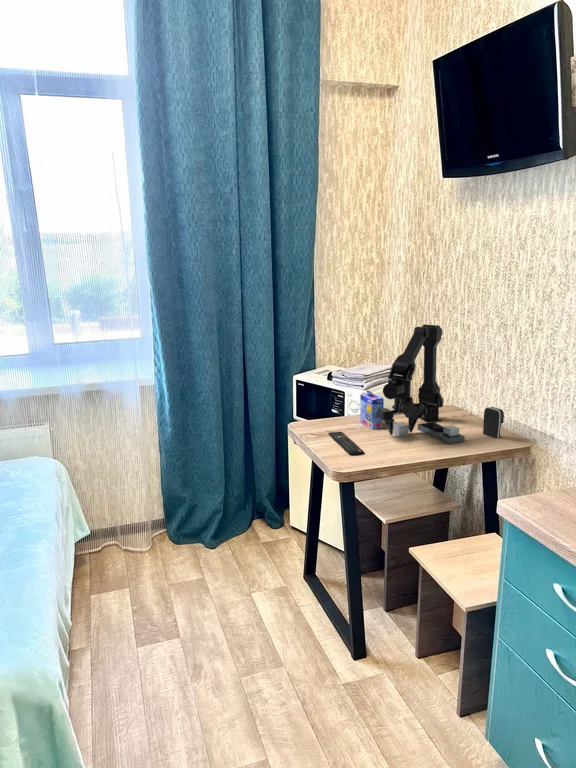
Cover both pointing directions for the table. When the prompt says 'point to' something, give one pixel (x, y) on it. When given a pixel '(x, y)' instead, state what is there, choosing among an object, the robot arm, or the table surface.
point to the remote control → (346, 443)
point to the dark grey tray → (439, 433)
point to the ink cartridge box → (371, 410)
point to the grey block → (401, 429)
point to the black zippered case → (493, 421)
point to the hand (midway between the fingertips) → (401, 433)
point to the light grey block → (451, 431)
